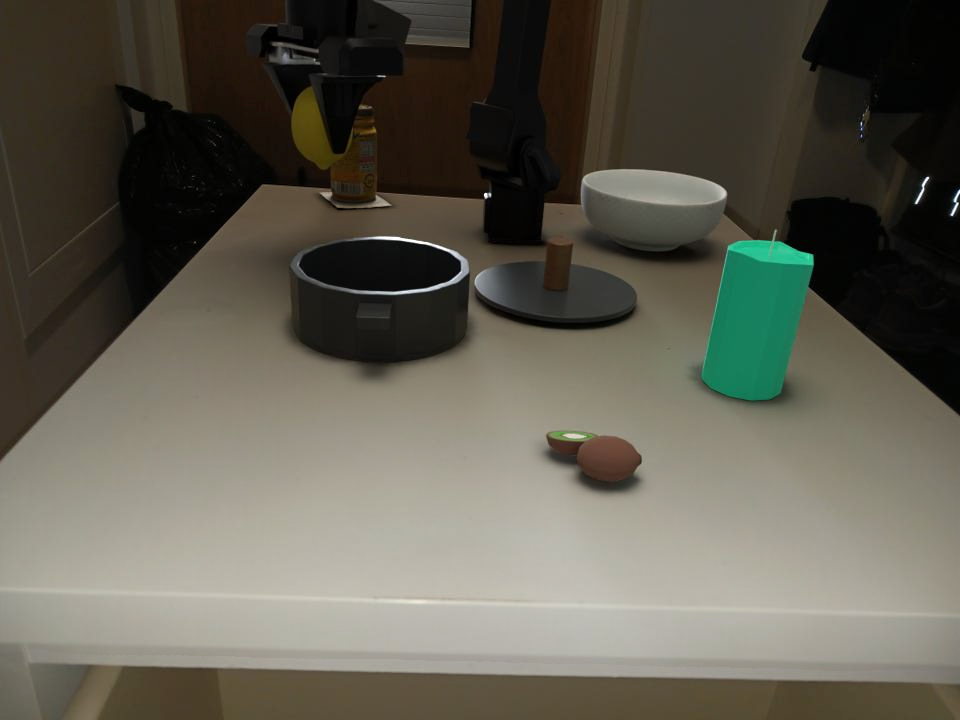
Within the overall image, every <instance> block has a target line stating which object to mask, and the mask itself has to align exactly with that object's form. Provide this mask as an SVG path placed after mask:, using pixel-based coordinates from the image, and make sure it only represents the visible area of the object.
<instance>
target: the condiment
mask: <svg viewBox="0 0 960 720" xmlns="http://www.w3.org/2000/svg"><path fill="white" fill-rule="evenodd" d="M374 113H375V110H374V108H373V107H372V106H371V105H366V104H360V106H359V108H358V111H357V114H356V118H355V121H354V125H353V135H352V141H351V144H350V147H349V149H348V151H347V152H346V154H345V155H344V156H343V157H342V158H341V159H339V160H338V161H335V162H334V163H332V164H331V165H330V191H324V192H320V195H322V197H324V199H326V200H327V201H328V202H330V203H331V204H332V205H333V206H335V207H336V208H342V209H354V208H355V209H363V208H368V209H370V208H375V207H377V208H380V207H381V208H382V207H389V206H390V207H391V206H392V204H390V202H388V201H387V200H385V199H384V198H382V197H380V196H378V194H377V186H378V184H377V183H378V152H377V150H378V141H377V140H378V134H377V129H376V128H375V126H374V125H375V118H374Z"/></svg>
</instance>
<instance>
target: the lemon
mask: <svg viewBox="0 0 960 720" xmlns="http://www.w3.org/2000/svg"><path fill="white" fill-rule="evenodd" d="M291 133H292V139H293V142H294V144H295V147H296V148H297V150H298V151H299V153H300V154H301V155H302V156H304V158H305V159H306V160H309V161H310V162H312V163H314V164H315V165H316V166H317V168H318V169H319V170H321V171H325V170H328V169H329V168H330V167H331V164H332V163H334V162H335V161H338V160H339V159H341V158H342V157H343V156H344V155H345V154H346V152H347V151H348V149H349V147H350V144H351V141H352V135H353V128H352V131H351V135H350V138H349V141H348V145H347V148H346V151H345V153H344V154H334V153H333V152H332V150H331V147H330V144H329V141H328V138H327V135H326V132H325V128H324V125H323V121H322V118H321V115H320V111H319V108H318V104H317V101H316V97H315V95H314V91H313V88H312V86H310V87H308V88H306V89H305V90H304V91H303V92H302V93H301V94H300V95H299V96H298V98H297V99H296V102H295V104H294V108H293V113H292V119H291Z"/></svg>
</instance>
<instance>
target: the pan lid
mask: <svg viewBox="0 0 960 720" xmlns="http://www.w3.org/2000/svg"><path fill="white" fill-rule="evenodd" d="M546 242H547V243H546V250H545V258H544V259H545V261H544V260H527V261H525V260H524V261H515V262H507V263H502V264H497V265H495V266H491V267H489V268H487V269H485V270H483V271H481V272H480V273H479V274H478V275H477V276H476V278H475V279H474V292H475V293H476V294H477V296H478V298H480V299H481V300H482V301H483V302H485V303H486V304H488V305H490V306H492V307H494V308H495V309H498V310H500V311H503V312H505V313H509V314H511V315H515V316H518V317H521V318H526V319H532V320H538V321H543V322H551V323H552V322H553V323H565V324H566V323H567V324H568V323H569V324H583V323H595V322H603V321H608V320H613V319H616V318H620V317H622V316H624V315H626V314H629V313H630V312H631V311H632V310H633V309H634V308H635V306H636V304H637V301H638V294H637V291H636V290H635V288H634V287H633V286H632V285H631V284H630V283H628V281H626V280H624V279H622V278H620V277H618V276H616V275H615V274H612V273H610V272H607V271H604V270H601V269H597V268H593V267H591V266H585V265H580V264H575V263H572V258H573V257H572V256H573V250H574V249H573V247H574V241H573V240H571V239H569V238H566V237H558V236H556V237H550V238H548V239H547V240H546Z"/></svg>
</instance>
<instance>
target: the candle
mask: <svg viewBox="0 0 960 720" xmlns="http://www.w3.org/2000/svg"><path fill="white" fill-rule="evenodd" d="M777 232H778V229H774V232H773V234H772V240H760V239H755V240H752V239H751V240H738V241H736V242H734V243H731V244H729V245H728V246H727V250H726V255H725V260H724V264H723V269H722V275H721V278H720V279H721V280H720V284H719V289H718V293H717V297H716V298H717V299H716V303H715V308H714V313H713V318H712V323H711V326H710V327H711V328H710V333H709V337H708V341H707V347H706V352H705V357H704V361H703V366H702V370H701V381H703V382H704V384H706V385H707V386H708V387H709V388H710V389H711V390H713V391H716V392H718V393H720V394H723V395H725V396H727V397H731V398H735V399H741V400H746V401H750V402H751V401H770V400H772V399H774V398H775V397H777V396H779V395H781V394H782V389H783V386H784V383H785V378H786V374H787V370H788V366H789V363H790V358H791V355H792V351H793V347H794V343H795V338H796V335H797V331H798V327H799V324H800V320H801V316H802V312H803V309H804V306H805V305H804V304H805V300H806V296H807V293H808V289H809V285H810V281H811V278H812V274H813V271H814V270H813V269H814V266H815V264H814V254H811V253H808V252H804V251H799V250H798V249H796V248H793V247H791V246H790V245H788V244H786V243H784V242H783V241H775V240H776V235H777Z"/></svg>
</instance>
